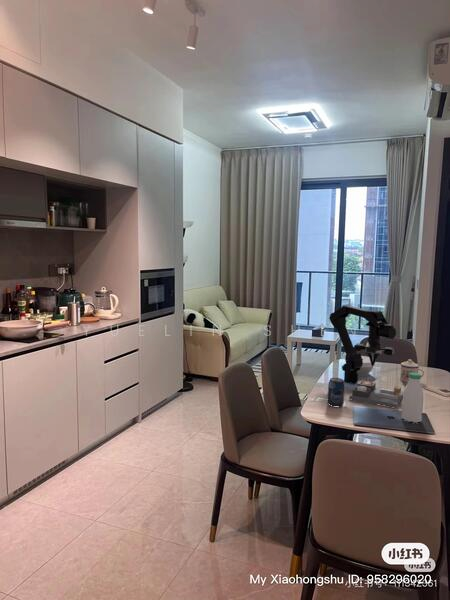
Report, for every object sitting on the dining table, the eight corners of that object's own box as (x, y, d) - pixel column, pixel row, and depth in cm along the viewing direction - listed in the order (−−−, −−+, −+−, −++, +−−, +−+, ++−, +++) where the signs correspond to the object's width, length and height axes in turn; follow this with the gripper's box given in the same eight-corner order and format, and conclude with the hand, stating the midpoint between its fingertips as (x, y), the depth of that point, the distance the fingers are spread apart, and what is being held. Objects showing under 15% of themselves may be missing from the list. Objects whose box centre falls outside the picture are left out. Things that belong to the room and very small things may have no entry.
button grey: (355, 392, 204) (356, 387, 204) (358, 390, 208) (358, 385, 208) (365, 394, 202) (365, 389, 202) (367, 391, 206) (367, 386, 205)
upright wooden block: (393, 397, 201) (394, 388, 200) (395, 394, 205) (395, 385, 205) (398, 398, 200) (399, 389, 199) (400, 395, 204) (401, 386, 203)
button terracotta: (361, 388, 214) (361, 383, 213) (362, 386, 218) (363, 381, 217) (370, 390, 212) (370, 385, 211) (371, 387, 215) (372, 382, 215)
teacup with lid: (398, 381, 233) (400, 360, 232) (400, 377, 242) (401, 356, 240) (423, 385, 228) (424, 363, 227) (423, 380, 236) (425, 359, 235)
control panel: (349, 399, 203) (349, 390, 203) (358, 388, 220) (359, 379, 220) (396, 408, 193) (397, 398, 192) (402, 395, 210) (403, 386, 210)
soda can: (331, 408, 191) (332, 382, 190) (324, 402, 198) (326, 377, 197) (345, 407, 193) (347, 381, 191) (338, 402, 200) (340, 377, 198)
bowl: (351, 368, 258) (352, 354, 257) (378, 373, 249) (379, 358, 248) (341, 374, 245) (342, 359, 244) (370, 379, 236) (371, 364, 235)
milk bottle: (420, 425, 174) (423, 377, 172) (399, 421, 178) (403, 374, 176) (422, 419, 181) (426, 373, 179) (403, 415, 185) (406, 370, 183)
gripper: (351, 336, 215) (350, 366, 217) (391, 340, 206) (389, 372, 207) (357, 332, 224) (355, 361, 226) (395, 336, 215) (393, 367, 217)
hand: (372, 365), depth 219 cm, fingers closed
